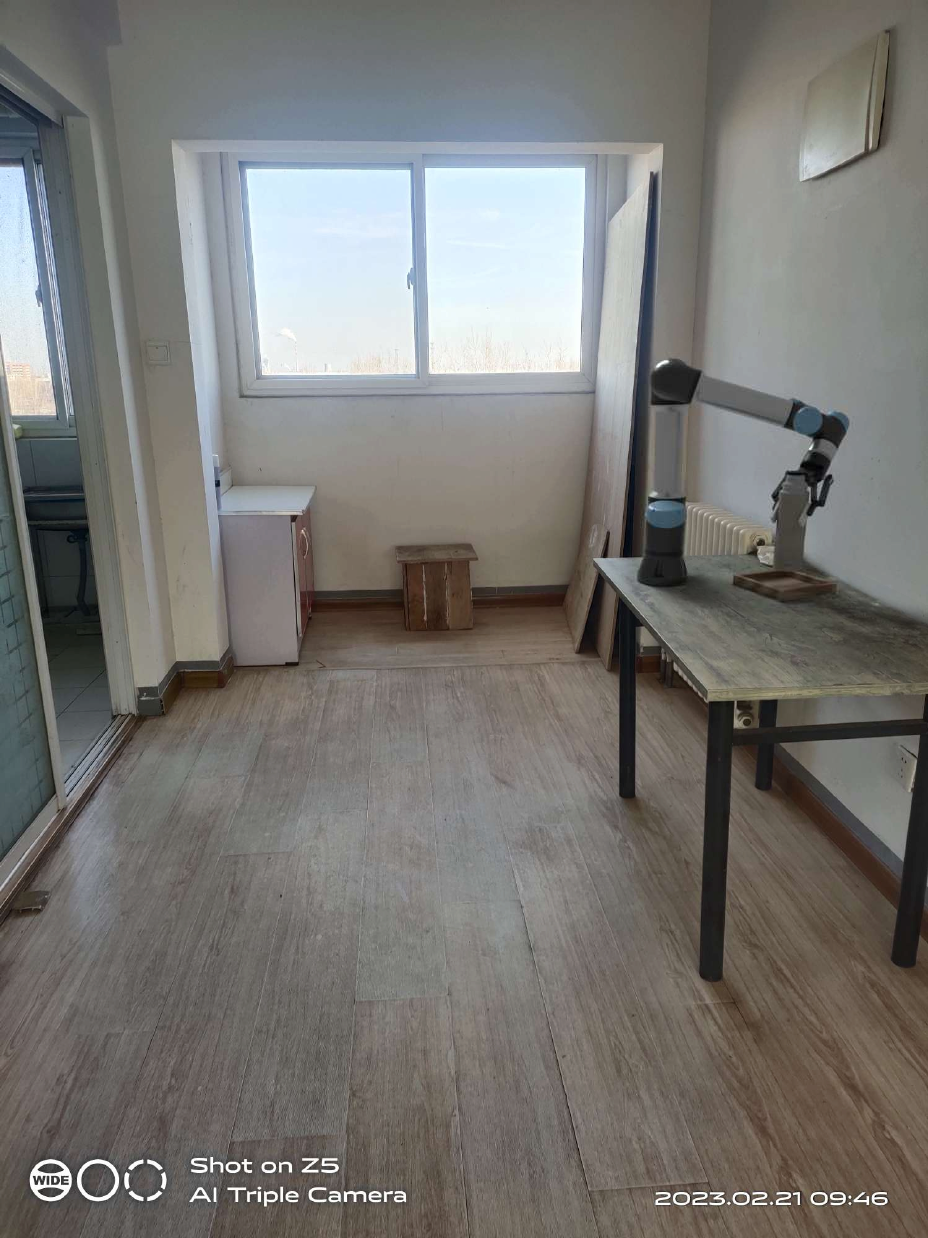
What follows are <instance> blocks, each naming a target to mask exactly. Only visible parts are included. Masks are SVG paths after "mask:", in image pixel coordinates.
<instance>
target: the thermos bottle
mask: <svg viewBox="0 0 928 1238" xmlns="http://www.w3.org/2000/svg"><path fill="white" fill-rule="evenodd" d="M787 471H788V470H787ZM805 475H806V472H804V471H797V470H789V471H788V472H787V478H786V481H785V482H784V483H783V485H782V490H780V491H779V501H778V513H777V520H776V523H775V524H776V525H775V526H776V527H775V534H774V535H775V536H774V537H775V539H774V549H773V559H772V560H773V561H772V568H773V569H772V570H779V571H788V572H794V571H797V572H801V571H802V570H803V561H804V552H805V541H806V533H807V531H806V530H807V521H808V520H807V521H806V523H805V525H804V527H801V526H800V524H799V522H798V520H799V518H800V516H801V514H802V512H803V510H804V508H805V506H806V505H807V503H810V494H811V491H809V490H808V489H809V487H808V484H807V483H806V482H805Z"/></svg>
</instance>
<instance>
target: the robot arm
mask: <svg viewBox="0 0 928 1238" xmlns="http://www.w3.org/2000/svg"><path fill="white" fill-rule="evenodd" d="M650 372H651V373H650V375H649V385H650V398H649V399H650V400H649V402H650V403H649V404H650V407H651V408H652V409H653V411H654V438H653V439H654V441H653V442H654V443H653V444H654V445H653V475H652V476H653V480H652V481H653V482H652V484H653V485H652V486H653V487H652V490H651V491H650V492H649V493H648V495H647V507H646V511H645V514H644V515H645V530H644V531H645V532H644V549H643V556H642V559H641V562H640V565H639V567H638V569H637V572H636V580H637V581H638V582H639V581H640V583H642V584H645V585H649V586H650V585H651V586H656V585H657V586H658V587H674V585H677V586H682V585H685V584H687V583H688V579H689V573H688V569H687V566H686V561H685V558H684V551H685V538H686V537H685V536H686V523H687V521H686V520H687V517H688V515H687V514H688V513H687V495H686V493H685V492H684V491H683V489H682V483H683V482H682V481H683V480H682V479H683V457H684V455H683V454H684V453H683V452H684V431H685V430H684V427H685V423H684V422H685V410H686V409H687V408H688V407H689V406H690V405H692V404H693V405H694V404H695V403H698V404H702V405H705V406H708V407H711V408H715V409H719V410H722V411H724V412H725V411H726V412H729V413H732V414H735V415H739V416H742V417H746V418H749V419H752V420H756V421H759V422H763V423H766V424H770V425H773V426H775V427H776V426H777V427H780V428H783V429H785V430H789V431H793V432H795V433H797V434H799V435H804V436H807V437H808V438H810V439H812V440H811V442H810V445H809V447H808V448H807V450H806V452H805V454H804V456H803V458H802V460H801V462H800V464H799V468H798V469H796V471H804V472H806V475H805V482H806V483H807V484H808V488H810V499H809V503H807V505H806V506H805V508H804V510H803V512H802V514H801V516H800V518H799V520H798V522H799V524H800V526H801V527H804V525H805V523H806V521H808V519H809V517H812V516H813V515H814V512H815V510H816V509H817V508H818V507H820V508H824V507H825V506H826V501H827V499H828V495H829V492H830V488H831V486H832V484H834V481H835V480H834V477H833V474H832V473H829V474H827V472H828V471H829V469H830V466H831V464H832V462H833V460H834V458H835V456H836V454H837V452H838V450H839V448H840V446H841V443H842V442H843V440H844V438H845V436H846V435H847V431H848V429H849V428H850V419H849V417H848V416H847V415H846V414H845V413H843V412H840V411H839V412H838V411H836V410H831V411H828V412H826V414H825V413H823V412H821V411H820V410H819V408H817V407H814V406H811V405H809V404H807V403H805V402H803V401H801V400H798V399H797V398H794V397H790V398H788V399H786V398H783V397H779V396H776V395H772V394H769V393H766V392H762V391H759V390H756V389H752V388H749V387H745V386H743V385H739V384H735V383H733V382H732V383H731V382H729V381H725V380H721V379H719V378H716V377H712V376H708V375H706V374H705V372H704V370H701V369H698V368H695V367H692V366H690V365H688V364H687V363H686V362H685V361H683V360H682V359H680V358H676V357H674V358H673V357H670V358H665V359H663V360H661V361H659V362H658V363H657V364H656V365H655V366H654V367H653V368H652V370H651V371H650ZM788 471H790V470H785V473H784V476H783V478H782V479H781V481H780V482H779V484H778V485H777V486H776V488H775V489H774V490H773V491H772V493H771V499H772V501H773V502H774V503H773V505H772V507H771V510H772V512H771V515H770V516H769V518H770V520H771V523H772V524H776V523H777V513H778V501H779V491H780V490H782V485H783V483H784V482H785V481H786V478H787V472H788ZM822 481H823V483H822V486H821V489H820V493H819V495H818V484H820V483H821V482H822ZM818 496H819V497H818Z"/></svg>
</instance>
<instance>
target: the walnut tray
mask: <svg viewBox="0 0 928 1238" xmlns="http://www.w3.org/2000/svg"><path fill="white" fill-rule="evenodd" d="M732 577H733V578H732V585H733V586H735V587H738V588H740V589H743V590H746V591H749V592H752V593H755V594H758V595H760V596H764V597H766V598H769V599H772V600H774V601H778V602H781V603H782V602H787V601H792V600H801V599H808V598H814V597H815V598H816V597H821V596H822V595H823V596H828V595H827V594H830V595H836V594H835V593H837V585H838V583H836V582H833V581H830V580H826V579H823V578H820V577H818V576H815V575H814V576H813V575H811V574H807V573H803V572H801V571H794V572H788V571H779V570H776V569H771V570H761V571H754V572H748V573H746V572H745V573H740V574H739V573H737V574H733V576H732Z"/></svg>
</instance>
